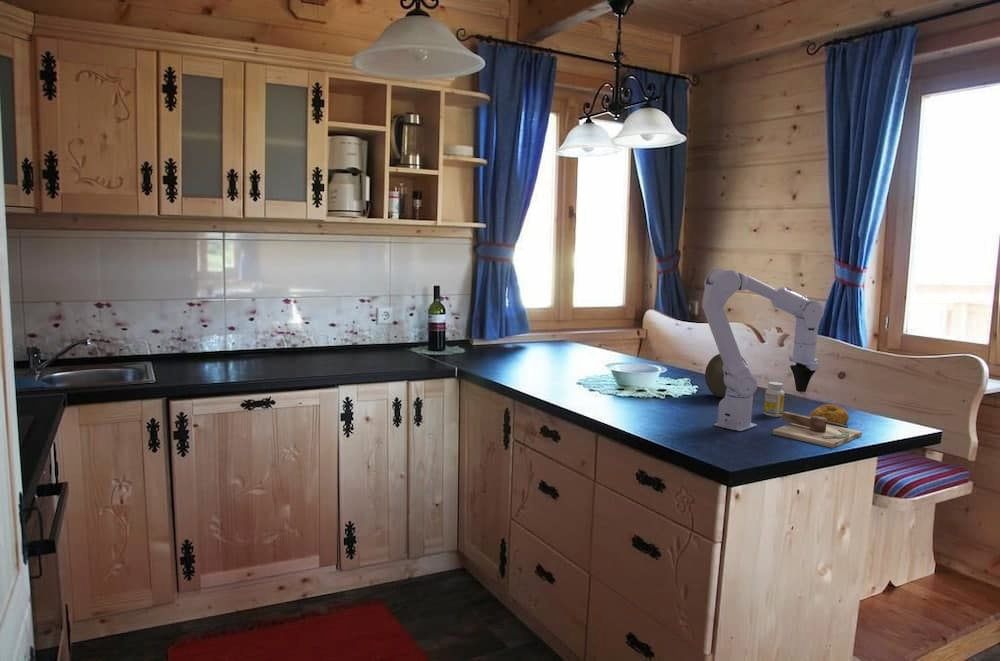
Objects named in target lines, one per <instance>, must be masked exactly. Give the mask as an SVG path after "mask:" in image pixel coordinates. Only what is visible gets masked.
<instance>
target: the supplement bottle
mask: <svg viewBox="0 0 1000 661" xmlns="http://www.w3.org/2000/svg"><path fill="white" fill-rule="evenodd" d="M767 387H768V389H767V388H766V390H765V392H764V405H763V415H765V416H768V417H775V418H776V417H777V418H778V417H782V412H784V404H785V403H784V402H785V391H784V390H782V389H783V387H784V383H782V382H779V381H778V382H777V381H769V382H768V385H767Z"/></svg>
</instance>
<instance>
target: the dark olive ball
mask: <svg viewBox="0 0 1000 661" xmlns="http://www.w3.org/2000/svg"><path fill="white" fill-rule="evenodd" d="M742 360H743V361H744V363H745V364H746V365H747V367H748V368H749V366H748V363H747V361H746V359H745V358H743V357H742ZM722 368H723V361H722V358H721V356H720V353H718V354H716V355H714V356H712V358H711V359H710V360H709V361H708V363H707V365H706V368H705V370H704V380H705V382H706V386H707V388H708V390H709V391H710V393H711V394H713V395H714V396H715V397H718V398H722V399H723V398H724V397H725V394H726V389H727V387H726V385H725V384H724V372H723V369H722Z"/></svg>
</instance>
